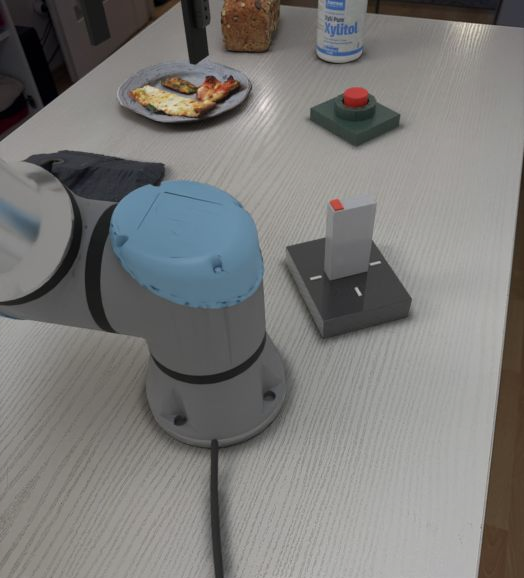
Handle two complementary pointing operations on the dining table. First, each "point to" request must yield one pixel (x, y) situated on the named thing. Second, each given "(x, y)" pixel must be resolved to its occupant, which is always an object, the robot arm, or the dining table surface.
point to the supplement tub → (340, 29)
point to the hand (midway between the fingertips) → (148, 50)
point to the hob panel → (346, 290)
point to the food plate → (184, 91)
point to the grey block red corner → (349, 235)
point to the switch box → (355, 119)
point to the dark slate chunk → (98, 173)
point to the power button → (355, 97)
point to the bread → (249, 24)
